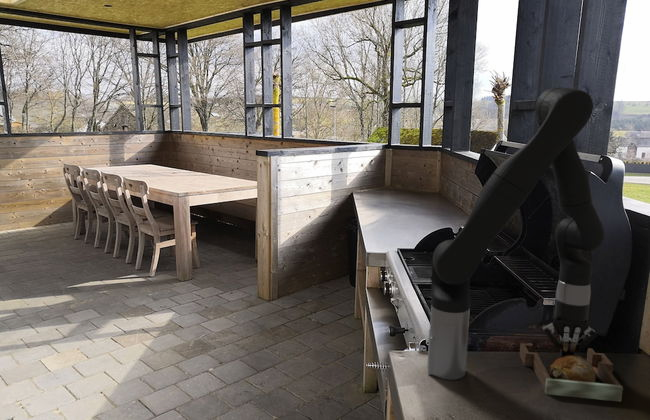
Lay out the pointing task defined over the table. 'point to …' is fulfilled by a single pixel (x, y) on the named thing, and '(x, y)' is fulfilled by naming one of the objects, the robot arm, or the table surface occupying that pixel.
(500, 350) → the table surface
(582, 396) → the box
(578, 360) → the bread roll
